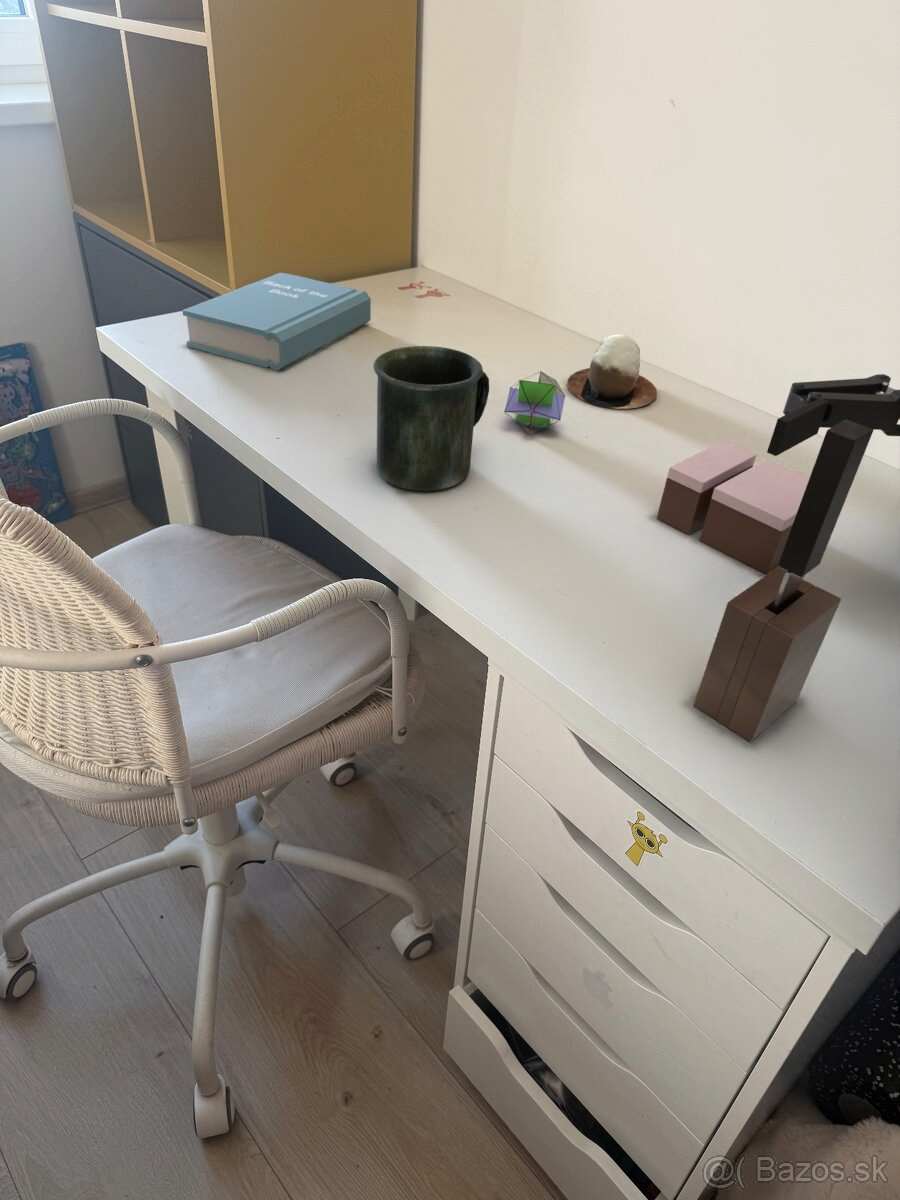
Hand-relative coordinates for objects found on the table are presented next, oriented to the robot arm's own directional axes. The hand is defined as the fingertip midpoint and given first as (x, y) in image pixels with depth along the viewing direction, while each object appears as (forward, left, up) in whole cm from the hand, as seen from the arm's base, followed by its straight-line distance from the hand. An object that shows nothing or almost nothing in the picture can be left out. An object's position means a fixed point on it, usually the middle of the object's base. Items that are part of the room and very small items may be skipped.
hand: (865, 474), depth 57 cm
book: (+65, +56, -18) cm, 88 cm away
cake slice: (+25, +3, -18) cm, 31 cm away
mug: (+29, +31, -18) cm, 47 cm away
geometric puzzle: (+41, +20, -18) cm, 50 cm away
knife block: (-5, +4, -18) cm, 19 cm away
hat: (+55, +9, -18) cm, 59 cm away
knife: (-5, +4, -18) cm, 19 cm away
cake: (+20, -2, -18) cm, 27 cm away
